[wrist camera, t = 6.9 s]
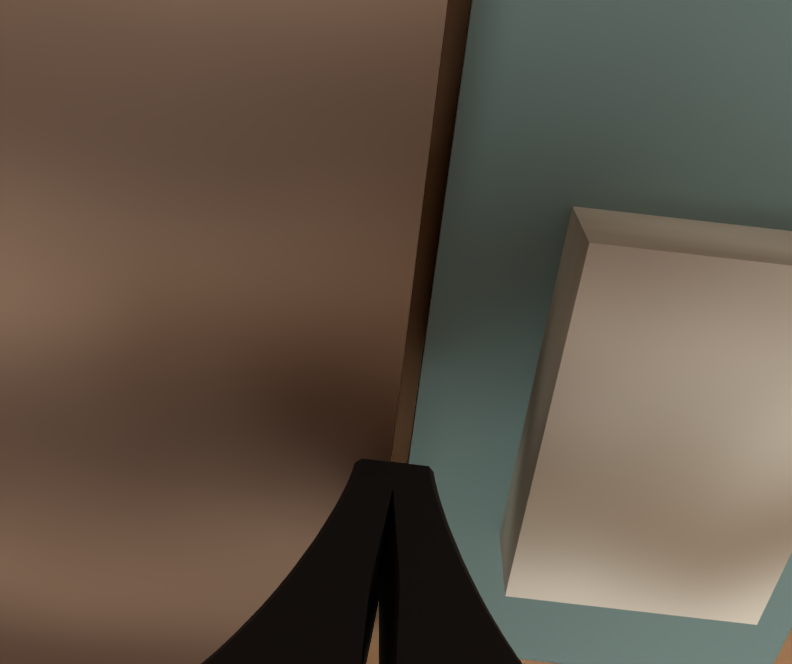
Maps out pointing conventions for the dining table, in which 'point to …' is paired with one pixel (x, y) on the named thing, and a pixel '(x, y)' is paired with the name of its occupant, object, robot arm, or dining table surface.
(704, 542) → the birch tile
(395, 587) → the robot arm
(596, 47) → the rubber mat
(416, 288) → the dining table surface
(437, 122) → the dining table surface
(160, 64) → the walnut board
